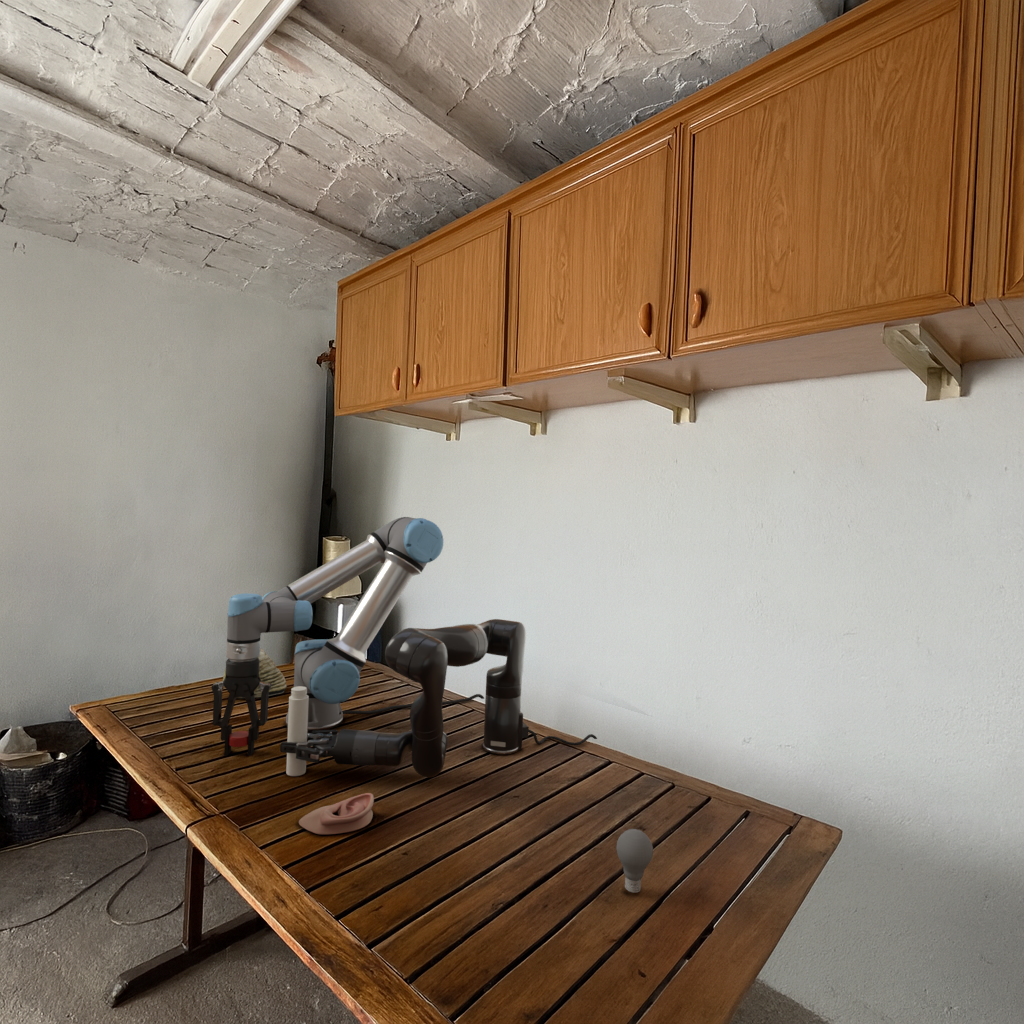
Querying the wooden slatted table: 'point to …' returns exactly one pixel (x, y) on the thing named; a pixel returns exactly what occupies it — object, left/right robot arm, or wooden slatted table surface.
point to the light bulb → (634, 857)
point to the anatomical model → (340, 816)
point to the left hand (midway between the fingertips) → (239, 753)
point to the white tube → (297, 728)
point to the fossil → (268, 676)
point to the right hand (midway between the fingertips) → (285, 742)
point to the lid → (238, 739)
